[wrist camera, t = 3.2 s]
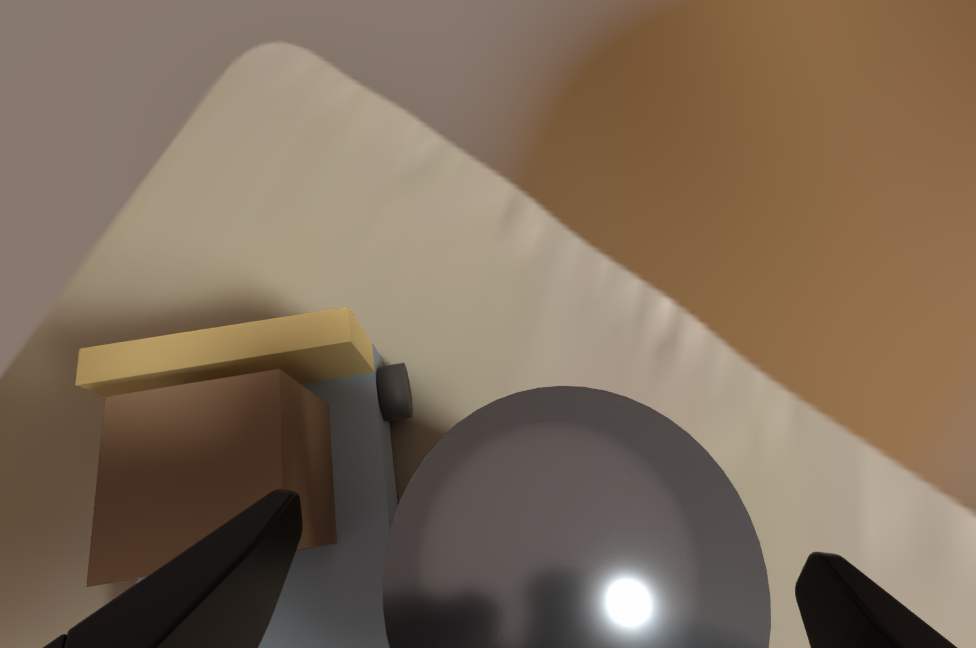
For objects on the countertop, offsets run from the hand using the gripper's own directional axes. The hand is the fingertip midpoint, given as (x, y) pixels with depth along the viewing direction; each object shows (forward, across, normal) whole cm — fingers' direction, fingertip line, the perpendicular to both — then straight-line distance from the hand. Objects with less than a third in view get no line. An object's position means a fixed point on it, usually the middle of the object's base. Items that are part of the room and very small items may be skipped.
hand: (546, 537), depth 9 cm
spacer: (+5, 0, +6) cm, 8 cm away
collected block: (+4, +8, +4) cm, 10 cm away
